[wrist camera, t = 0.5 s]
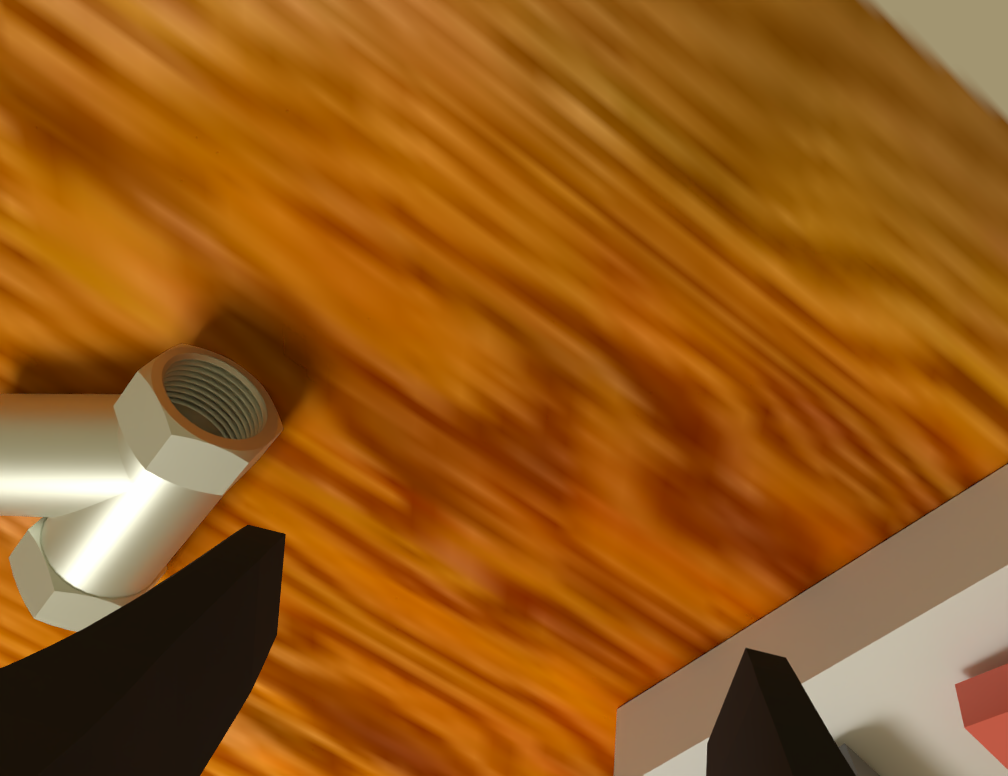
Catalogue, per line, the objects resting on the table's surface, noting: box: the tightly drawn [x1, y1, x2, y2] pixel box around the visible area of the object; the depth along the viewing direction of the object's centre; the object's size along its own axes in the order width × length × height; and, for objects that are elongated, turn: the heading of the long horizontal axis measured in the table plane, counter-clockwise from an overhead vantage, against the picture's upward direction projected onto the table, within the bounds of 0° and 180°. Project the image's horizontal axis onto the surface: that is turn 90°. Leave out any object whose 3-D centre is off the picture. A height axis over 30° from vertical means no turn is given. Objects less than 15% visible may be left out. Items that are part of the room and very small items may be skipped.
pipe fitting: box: [0, 343, 284, 632], centre depth 24 cm, size 8×4×7 cm
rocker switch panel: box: [614, 464, 1008, 776], centre depth 23 cm, size 15×7×3 cm, turn 136°
